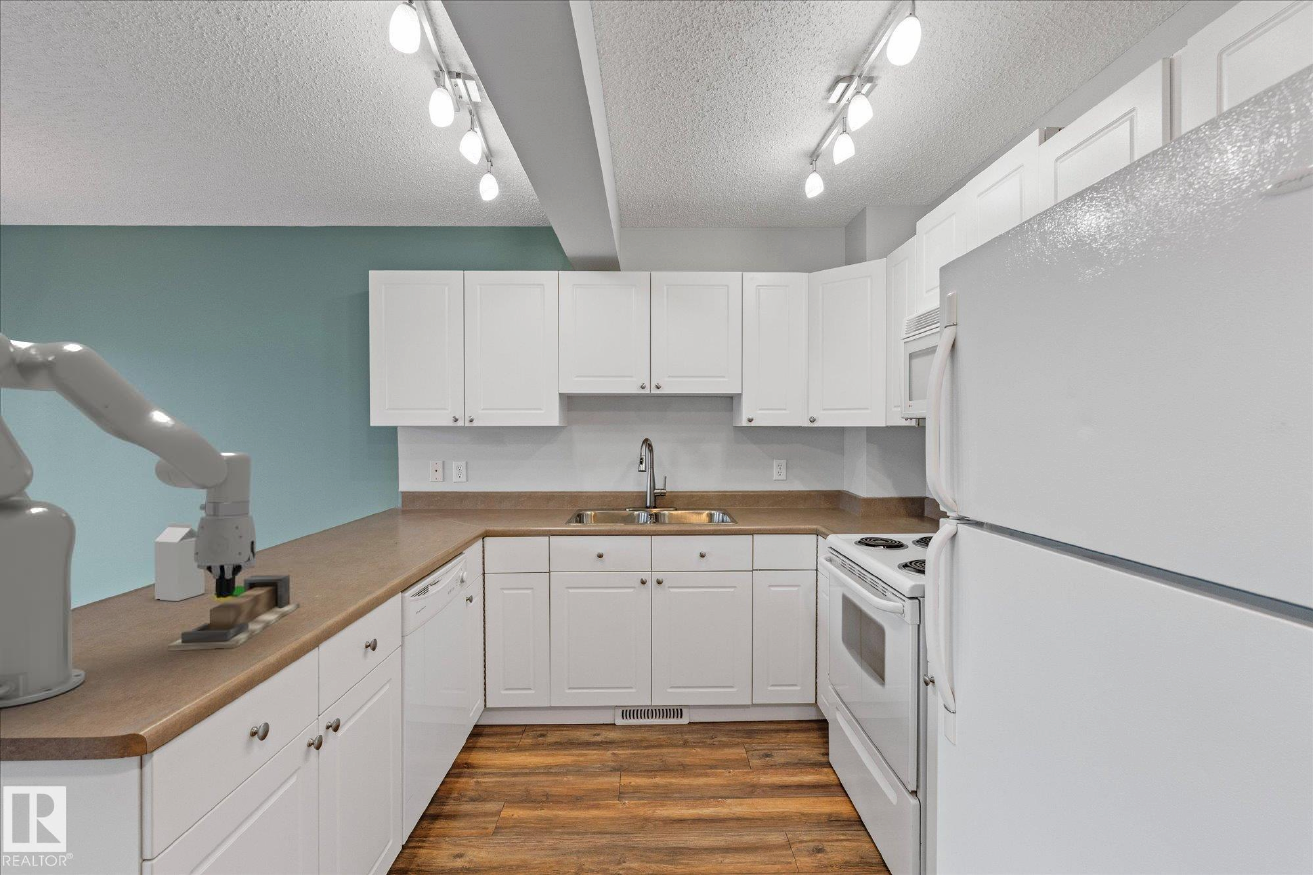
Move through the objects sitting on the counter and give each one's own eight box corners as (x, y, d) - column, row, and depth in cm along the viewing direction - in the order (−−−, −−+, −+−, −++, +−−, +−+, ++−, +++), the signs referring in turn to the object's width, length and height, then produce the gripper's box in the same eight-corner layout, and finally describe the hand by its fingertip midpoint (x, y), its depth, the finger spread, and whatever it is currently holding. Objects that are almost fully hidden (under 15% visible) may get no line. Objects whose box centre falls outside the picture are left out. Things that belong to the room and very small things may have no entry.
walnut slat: (230, 632, 122) (230, 609, 122) (209, 633, 121) (209, 609, 121) (276, 606, 140) (275, 585, 139) (258, 606, 139) (257, 585, 139)
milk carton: (177, 601, 146) (176, 526, 145) (154, 600, 147) (154, 525, 147) (204, 593, 153) (204, 521, 152) (182, 592, 154) (182, 520, 154)
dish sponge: (260, 605, 145) (260, 596, 144) (213, 602, 147) (213, 592, 147) (283, 597, 152) (283, 588, 151) (238, 594, 154) (238, 585, 154)
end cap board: (233, 648, 116) (233, 607, 116) (167, 650, 115) (167, 609, 114) (299, 606, 143) (299, 573, 143) (246, 607, 141) (246, 574, 141)
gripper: (177, 511, 119) (174, 601, 119) (255, 512, 121) (253, 600, 121) (201, 507, 127) (198, 592, 126) (274, 508, 129) (272, 591, 128)
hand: (225, 596), depth 124 cm, fingers closed
